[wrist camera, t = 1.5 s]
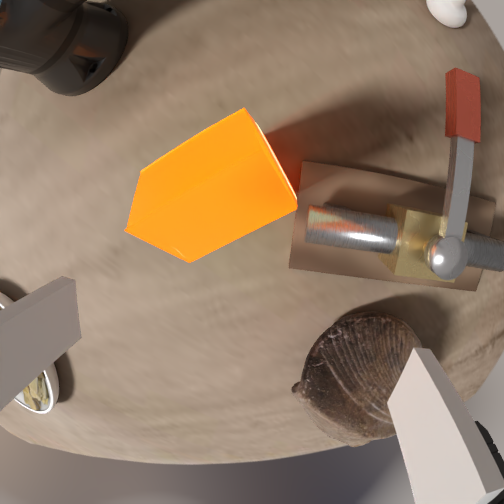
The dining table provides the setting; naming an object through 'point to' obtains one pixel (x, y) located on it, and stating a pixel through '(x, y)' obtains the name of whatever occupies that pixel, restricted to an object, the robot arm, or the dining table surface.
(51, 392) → the bowl
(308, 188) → the mounting board
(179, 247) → the orange juice
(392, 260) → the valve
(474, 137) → the valve lever
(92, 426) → the dining table surface
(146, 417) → the dining table surface
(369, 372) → the seashell
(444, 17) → the garlic bulb
